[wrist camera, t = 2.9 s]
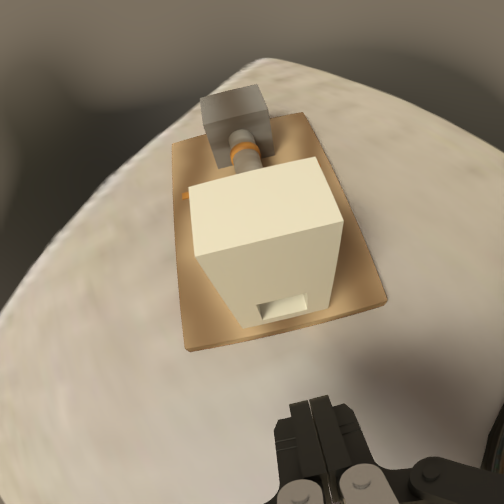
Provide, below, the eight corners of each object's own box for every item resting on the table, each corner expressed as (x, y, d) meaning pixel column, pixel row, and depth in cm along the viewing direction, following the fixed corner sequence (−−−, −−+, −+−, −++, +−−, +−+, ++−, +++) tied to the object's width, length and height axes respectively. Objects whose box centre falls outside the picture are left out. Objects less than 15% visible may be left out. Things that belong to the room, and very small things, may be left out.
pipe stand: (303, 119, 36) (300, 69, 30) (384, 305, 24) (409, 265, 17) (175, 150, 36) (154, 105, 30) (189, 351, 24) (151, 327, 18)
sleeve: (313, 261, 25) (315, 156, 15) (327, 308, 23) (343, 220, 13) (234, 280, 25) (188, 187, 15) (242, 328, 23) (194, 256, 13)
